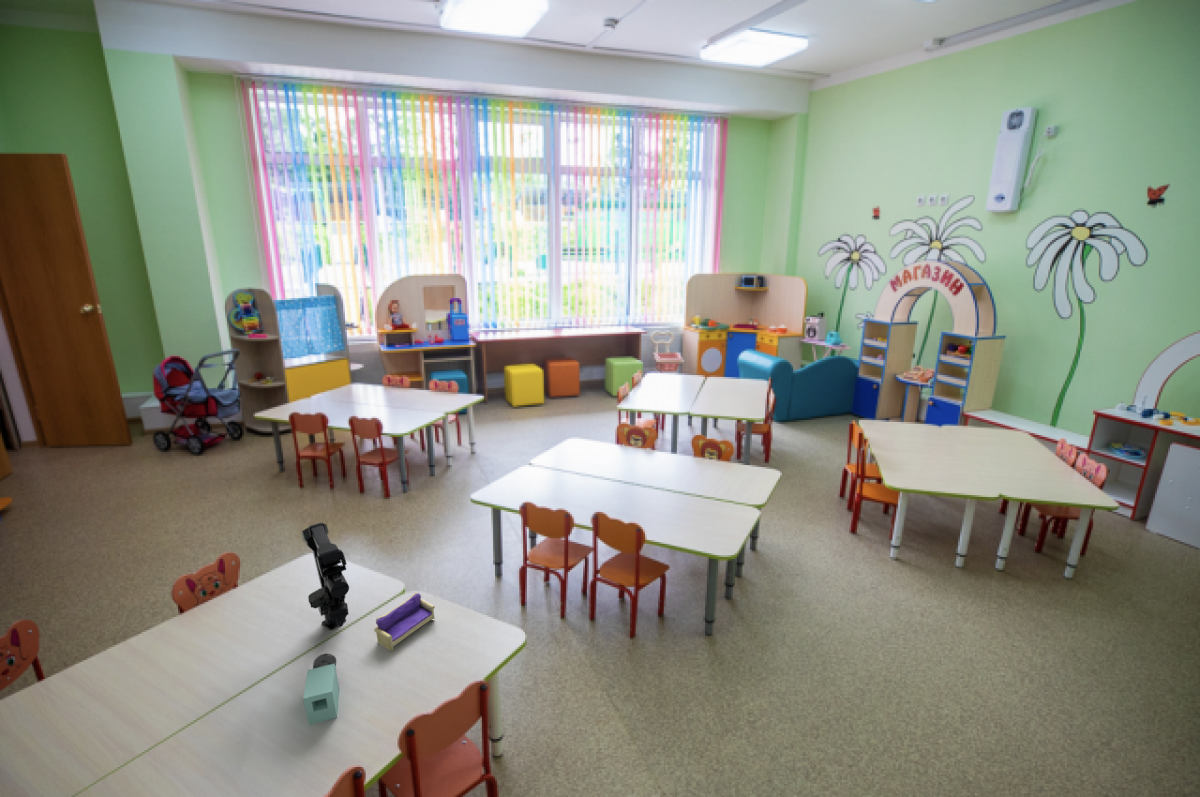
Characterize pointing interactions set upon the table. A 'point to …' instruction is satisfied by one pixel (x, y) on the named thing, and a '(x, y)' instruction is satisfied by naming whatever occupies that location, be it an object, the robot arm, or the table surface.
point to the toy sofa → (403, 621)
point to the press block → (321, 694)
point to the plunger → (324, 660)
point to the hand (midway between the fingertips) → (339, 617)
